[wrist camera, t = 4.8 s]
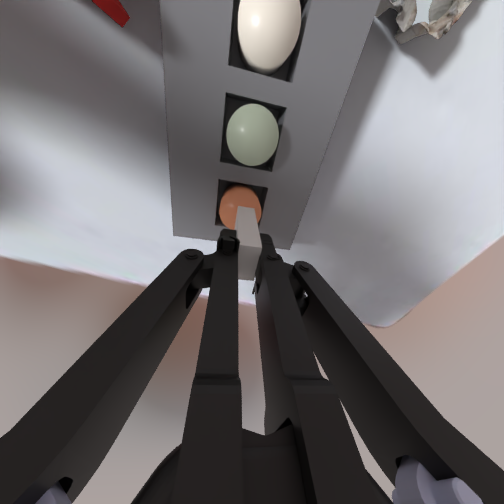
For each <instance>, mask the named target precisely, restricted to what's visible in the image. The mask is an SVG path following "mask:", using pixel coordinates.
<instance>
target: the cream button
mask: <svg viewBox="0 0 504 504" xmlns="http://www.w3.org/2000/svg"><path fill="white" fill-rule="evenodd" d="M300 26H301V7H300V1H299V0H240V5H239V11H238V49H239V53H240V56H241V59H242V61H243V63H244V65H245V66H246V68H247V69H248V70H249V71H251V72H254V73H258V74H261V75H265V76H270V75H272V74H274V73H275V72H276V71H277V70H278V69H279V68H280V67H281V66H282V64H283V63H284V62H285V60H286V59H287V58H288V56H289V55H290V54H291V52H292V50H293V49H294V47H295V44H296V42H297V39H298V36H299V32H300Z"/></svg>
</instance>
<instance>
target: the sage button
mask: <svg viewBox="0 0 504 504" xmlns="http://www.w3.org/2000/svg"><path fill="white" fill-rule="evenodd" d="M226 137H227V144H228V147H229V150H230V152H231V153H232V155H233V156H234V157H235V158H236V159H237V160H238V161H239V162H241V163H242V164H245V165H248V166H256V165H260V164H262V163H264V162H266V161H267V160H268V159H269V158H270V157H271V156H272V155H273V153H274V152H275V150H276V147H277V144H278V139H279V131H278V125H277V122H276V120H275V118H274V116H273V115H272V113H271V112H270V111H269V110H268V109H266V108H265V107H263V106H261V105H258V104H247V105H244V106H242V107H240V108H239V109H238V110H236V111H235V112H234V114H233V115H232V116H231V118H230V120H229V123H228V126H227V132H226Z"/></svg>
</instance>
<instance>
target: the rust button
mask: <svg viewBox="0 0 504 504" xmlns="http://www.w3.org/2000/svg"><path fill="white" fill-rule="evenodd" d="M238 206H242V207H249V208H254V209H255V214H256V219H257V223H258V222H259V220H260V218H261V206H260V203H259V199H258V196H257V194H256V192H255V190H254V189H253V188H252V187H251V186H249V185H247V184H244V183H235V184H232V185H230V186H229V187H227V188H226V190H225V191H224V192H223V195H222V198H221V203H220V209H219V215H220V218H221V221H222V222H223V224H224V225H225V226H226V227H228V228H229V229H232V230H234V229H235V222H236V215H237V209H238Z"/></svg>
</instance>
